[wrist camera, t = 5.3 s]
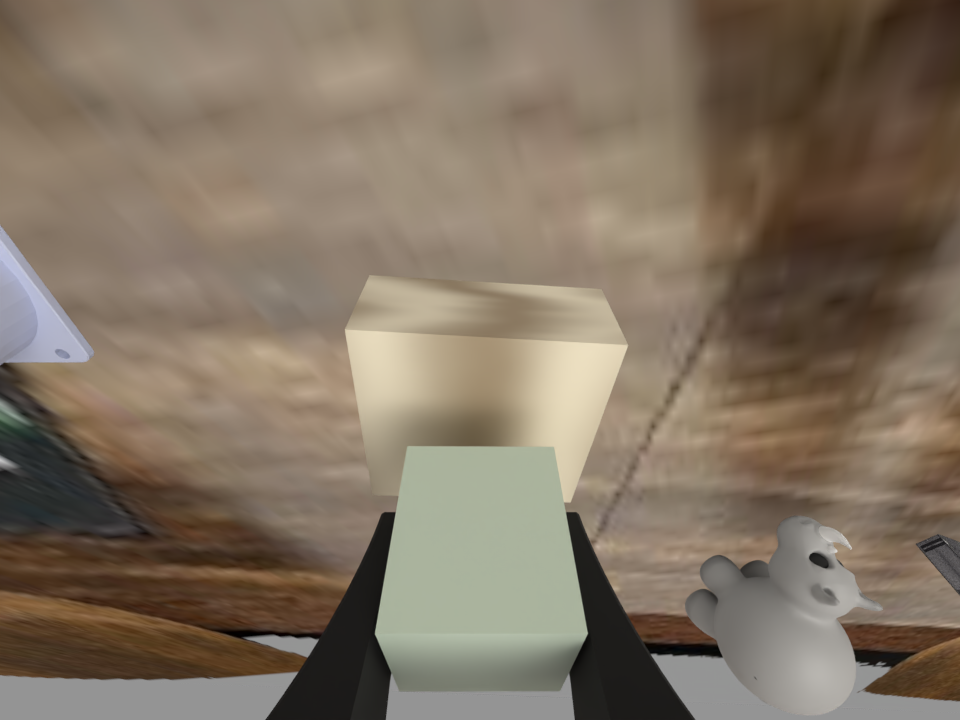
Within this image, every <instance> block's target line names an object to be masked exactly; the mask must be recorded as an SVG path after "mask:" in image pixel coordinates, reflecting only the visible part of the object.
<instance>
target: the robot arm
mask: <svg viewBox="0 0 960 720" xmlns="http://www.w3.org/2000/svg"><path fill="white" fill-rule="evenodd" d="M93 356H94V351H93V349H92V347H91V346H90V345H89V343H88V342H87V341H86V339H85V338H84V337H83V335H82V334H81V333H80V331H79V330H78V329H77V327H76V326H75V325H74V323H73V322H72V320H71V319H70V318H69V316H68V315H67V314H66V312H65V311H64V310H63V308H62V307H61V306H60V304H59V303H58V302H57V300H56V299H55V298H54V296H53V295H52V294H51V292H50V291H49V290H48V288H47V287H46V286H45V284H44V283H43V282H42V280H41V279H40V278H39V276H38V275H37V273H36V272H35V271H34V269H33V268H32V267H31V265H30V264H29V263H28V261H27V260H26V259H25V257H24V256H23V255H22V253H21V252H20V251H19V249H18V248H17V247H16V245H15V244H14V243H13V241H12V240H11V239H10V237H9V236H8V235H7V233H6V232H5V230H4V229H3V228H2V226H1V225H0V365H1V364H3V363H17V362H87V361H88V360H89V359H90V358H92V357H93ZM395 514H396V512H384V513H382V514H381V516H380V519H379V522H378V524H377V527H376V529H375V532H374V534H373V537H372V539H371V541H370V544H369V546H368V548H367V550H366V553H365V555H364V557H363V559H362V561H361V563H360V565H359V567H358V569H357V571H356V573H355V575H354V577H353V579H352V581H351V583H350V585H349V587H348V589H347V591H346V593H345V595H344V597H343V598H342V600H341V602H340V604H339V606H338V607H337V609H336V611H335V613H334V614H333V616H332V618H331V620H330V622H329V623H328V625H327V627H326V629H325V630H324V632H323V634H322V635H321V637H320V639H319V640H318V642H317V643H316V645H315V647H314V648H313V650H312V652H311V653H310V655H309V656H308V658H307V659H306V661H305V663H304V664H303V666H302V667H301V669H300V670H299V672H298V673H297V675H296V676H295V678H294V679H293V681H292V682H291V684H290V685H289V687H288V688H287V689H286V691H285V692H284V694H283V695H282V697H281V698H280V700H279V701H278V703H277V704H276V706H275V707H274V708H273V710H272V711H271V712H270V714H269V715H268V717H267V718H266V719H265V720H386V714H387V705H388V696H389V687H390V679H391V670H390V668H389V666H388V663H387V661H386V659H385V656H384V654H383V652H382V649H381V647H380V644H379V642H378V640H377V637H376V635H375V630H376V624H377V619H378V613H379V607H380V601H381V596H382V590H383V584H384V578H385V572H386V567H387V561H388V555H389V549H390V543H391V538H392V532H393V526H394V520H395ZM566 516H567V522H568V527H569V533H570V538H571V544H572V549H573V555H574V560H575V566H576V571H577V577H578V582H579V588H580V593H581V599H582V604H583V610H584V615H585V621H586V626H587V632H588V634H587V637H586V639H585V641H584V643H583V645H582V647H581V649H580V651H579V653H578V655H577V657H576V659H575V661H574V663H573V665H572V668H571V670H570V672H569V676H570V682H571V691H572V700H573V709H574V718H575V720H695V718H694V717H693V715H692V714H691V713H690V711H689V710H688V709H687V707H686V706H685V704H684V703H683V702H682V700H681V699H680V697H679V696H678V695H677V693H676V692H675V690H674V689H673V687H672V686H671V684H670V683H669V681H668V680H667V678H666V677H665V675H664V674H663V672H662V671H661V669H660V668H659V666H658V665H657V663H656V662H655V660H654V658H653V657H652V655H651V654H650V652H649V651H648V649H647V647H646V646H645V644H644V643H643V641H642V639H641V638H640V636H639V634H638V633H637V631H636V629H635V628H634V626H633V624H632V622H631V621H630V619H629V617H628V615H627V614H626V612H625V610H624V608H623V607H622V605H621V603H620V601H619V599H618V598H617V596H616V594H615V592H614V590H613V588H612V586H611V584H610V582H609V580H608V578H607V576H606V574H605V572H604V570H603V568H602V566H601V564H600V562H599V560H598V558H597V556H596V554H595V552H594V549H593V547H592V545H591V543H590V540H589V538H588V536H587V533H586V531H585V528H584V526H583V523H582V521H581V518H580V515H579V514H578V513H577V512H566Z"/></svg>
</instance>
